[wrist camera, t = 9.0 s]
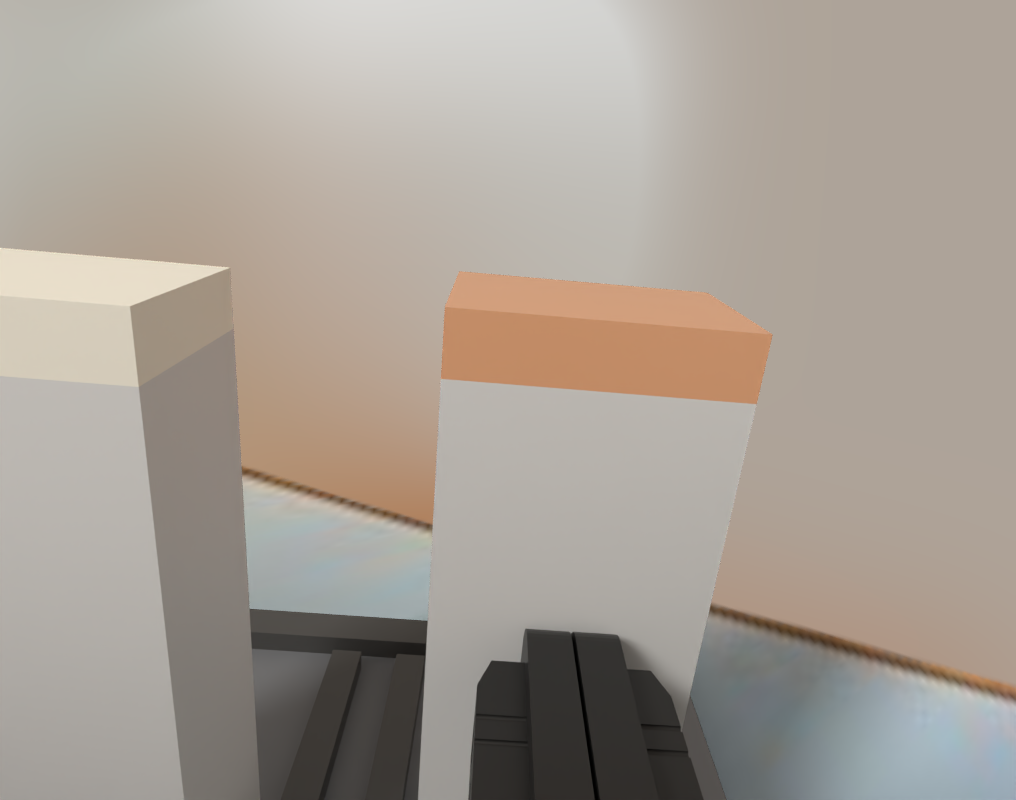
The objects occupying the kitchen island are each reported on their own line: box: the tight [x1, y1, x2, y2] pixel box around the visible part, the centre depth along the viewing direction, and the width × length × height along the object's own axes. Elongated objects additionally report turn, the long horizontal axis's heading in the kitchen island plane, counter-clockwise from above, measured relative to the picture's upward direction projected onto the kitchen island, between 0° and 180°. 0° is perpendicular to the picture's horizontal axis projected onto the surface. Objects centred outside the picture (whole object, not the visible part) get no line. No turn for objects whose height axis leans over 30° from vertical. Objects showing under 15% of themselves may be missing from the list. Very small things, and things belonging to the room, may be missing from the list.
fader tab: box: [418, 272, 772, 800], centre depth 12 cm, size 4×3×12 cm
